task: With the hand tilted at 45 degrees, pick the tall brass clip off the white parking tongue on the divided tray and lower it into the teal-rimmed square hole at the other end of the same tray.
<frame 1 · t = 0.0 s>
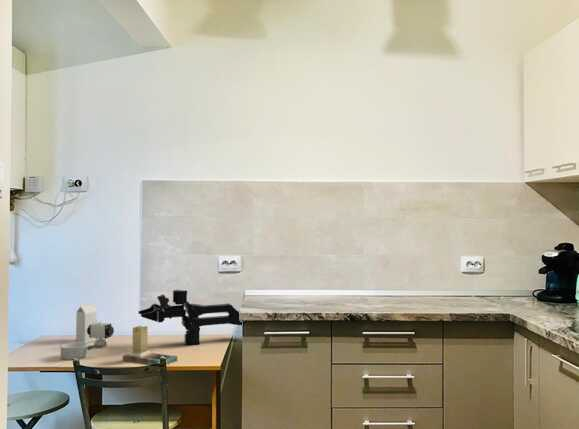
hand: (139, 313, 231), 17 cm above the table, tool horizontal, fingers open, 9 cm apart
brass clip: (139, 352, 213), point 3 cm above the table, touching divided tray
pneumatic valve: (100, 347, 235), on the table
saucepan: (83, 357, 216), on the table
divided tray: (150, 360, 211), on the table
milk carton: (86, 341, 246), on the table
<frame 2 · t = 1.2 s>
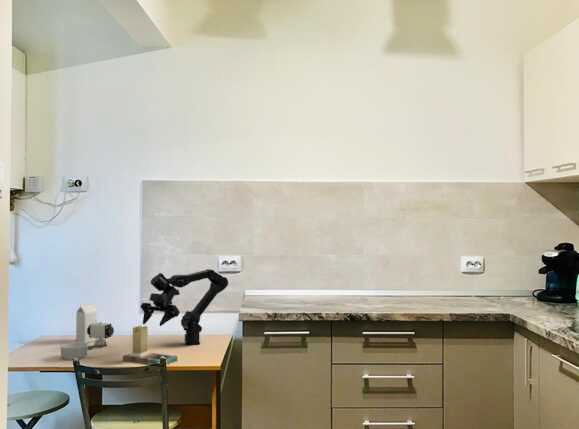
hand: (151, 324, 221), 14 cm above the table, tool tilted 45°, fingers open, 9 cm apart
nothing on the table moved.
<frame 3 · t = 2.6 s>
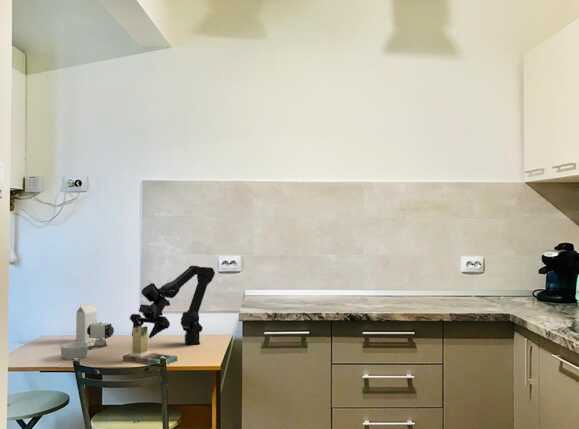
hand: (140, 337, 214), 10 cm above the table, tool tilted 45°, fingers open, 9 cm apart
nothing on the table moved.
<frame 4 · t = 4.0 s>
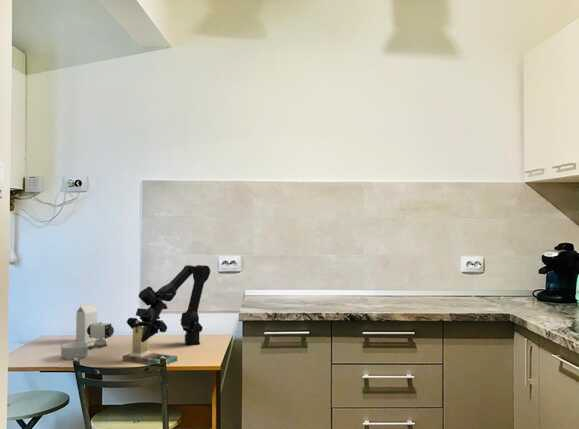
hand: (137, 341, 212), 8 cm above the table, tool tilted 45°, fingers closed on brass clip, 4 cm apart
brass clip: (139, 352, 213), point 3 cm above the table, touching gripper, divided tray
everything else where it was.
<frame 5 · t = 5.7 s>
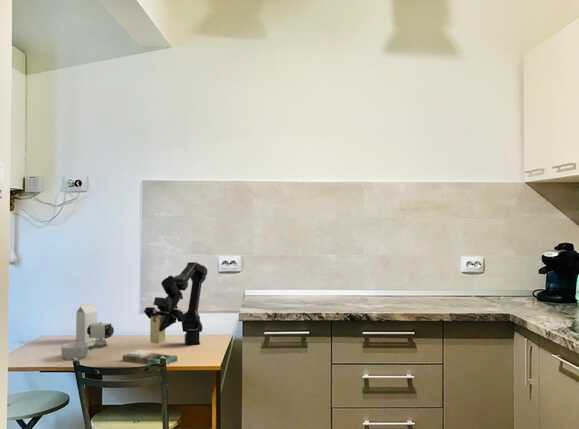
hand: (155, 330, 208), 14 cm above the table, tool tilted 45°, fingers closed on brass clip, 4 cm apart
brass clip: (157, 342, 209), point 8 cm above the table, touching gripper
everything else where it was.
when the fingers open (7 cm above the table, at t = 7.8 s): brass clip drops 1 cm, resting in divided tray.
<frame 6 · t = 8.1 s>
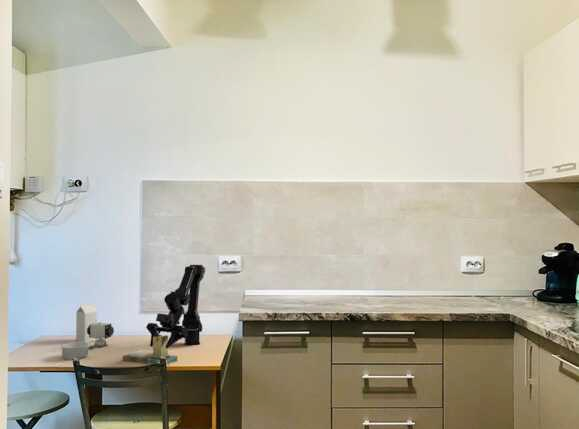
hand: (158, 347, 207), 7 cm above the table, tool tilted 45°, fingers open, 8 cm apart
brass clip: (160, 362, 209), resting in divided tray
everything else where it was.
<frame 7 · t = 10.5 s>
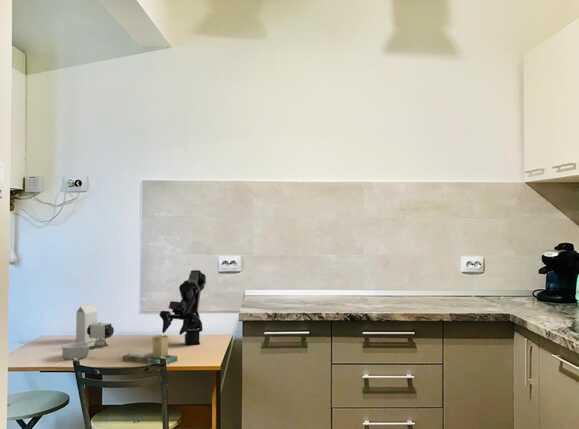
hand: (171, 333, 216), 11 cm above the table, tool tilted 45°, fingers open, 9 cm apart
nothing on the table moved.
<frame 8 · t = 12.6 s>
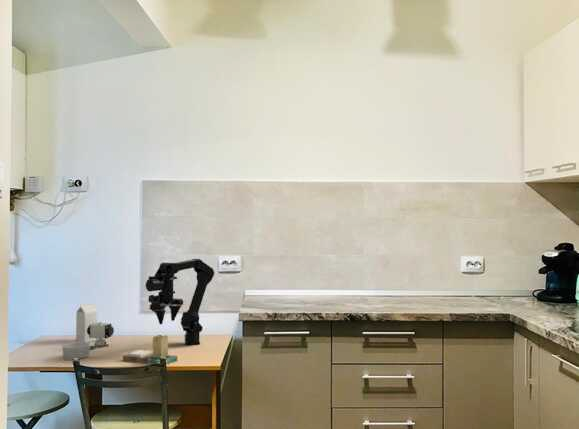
hand: (166, 322, 229), 13 cm above the table, tool pointing down, fingers open, 9 cm apart
nothing on the table moved.
at the end: brass clip 0.0 cm from the target spot, resting in divided tray; brass clip tilted 0°; the gripper is holding nothing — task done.
